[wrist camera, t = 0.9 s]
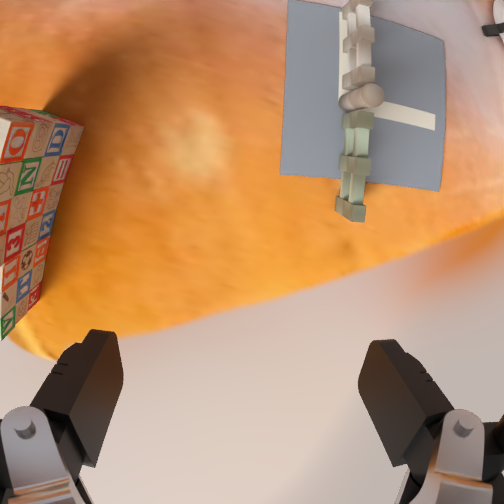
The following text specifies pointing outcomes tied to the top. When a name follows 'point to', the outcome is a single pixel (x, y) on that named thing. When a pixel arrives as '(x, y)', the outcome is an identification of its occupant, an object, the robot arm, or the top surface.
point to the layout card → (385, 116)
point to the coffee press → (496, 21)
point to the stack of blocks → (29, 201)
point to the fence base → (359, 59)
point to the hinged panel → (354, 165)
